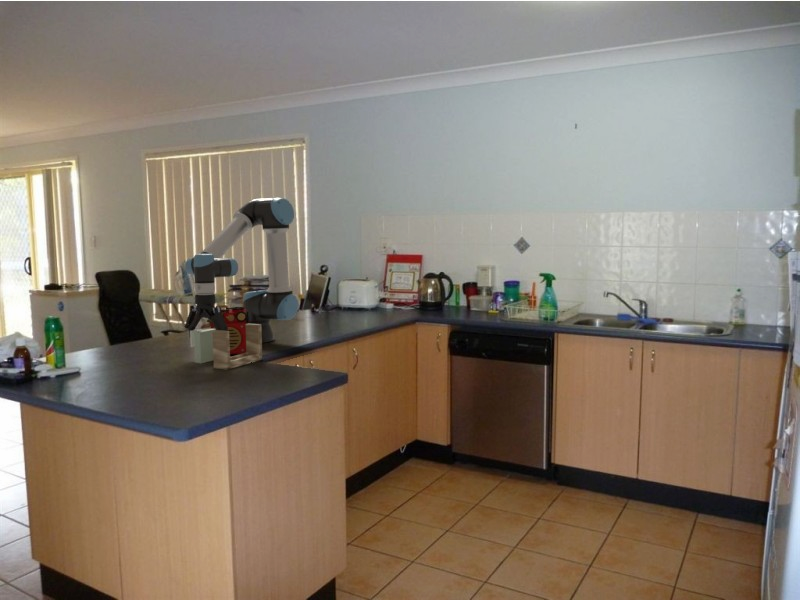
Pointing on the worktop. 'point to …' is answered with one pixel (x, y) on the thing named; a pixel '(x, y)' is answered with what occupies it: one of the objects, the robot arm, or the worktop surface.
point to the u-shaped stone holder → (252, 354)
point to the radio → (235, 327)
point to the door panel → (203, 345)
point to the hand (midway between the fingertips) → (206, 348)
